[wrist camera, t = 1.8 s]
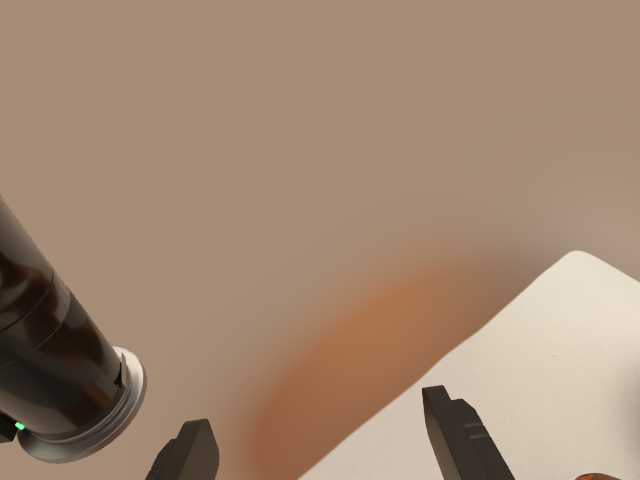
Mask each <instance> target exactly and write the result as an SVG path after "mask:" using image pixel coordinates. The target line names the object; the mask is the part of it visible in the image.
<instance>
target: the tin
mask: <svg viewBox="0 0 640 480" xmlns="http://www.w3.org/2000/svg"><path fill="white" fill-rule="evenodd" d="M575 480H620V479H618V478H615V477H612V476H609V475H605V474H601V473H590V474H584V475H581V476H579V477H577V478H576V479H575Z"/></svg>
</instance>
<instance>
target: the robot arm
mask: <svg viewBox="0 0 640 480" xmlns="http://www.w3.org/2000/svg"><path fill="white" fill-rule="evenodd" d="M130 386H131V373H130V370H129V368H128V366H127V365H126V357H125V356H124V354H123V353H122V352H121V358H120V357H119V356H118V354H117V353H116V352H115V350H114V349H113V347H112V346H111V345H110V343H109V342H108V340H107V339H106V338H105V336H104V335H103V334H102V332H101V331H100V330H99V329H98V327H97V326H96V324H95V323H94V322H93V321H92V319H91V318H90V316H89V315H88V314H87V312H86V311H85V309H84V308H83V307H82V305H81V304H80V303H79V301H78V300H77V299H76V297H75V296H74V295H73V294H72V292H71V291H70V289H69V288H68V287H67V285H66V284H65V283H64V281H63V280H62V279H61V277H60V276H59V275H58V273H57V272H56V271H55V269H54V268H53V267H52V265H51V264H50V263H49V261H48V260H47V259H46V257H45V256H44V255H43V253H42V252H41V251H40V249H39V248H38V247H37V245H36V244H35V242H34V241H33V240H32V238H31V237H30V235H29V234H28V233H27V231H26V230H25V229H24V227H23V226H22V224H21V223H20V221H19V220H18V219H17V217H16V216H15V214H14V213H13V212H12V210H11V209H10V208H9V206H8V205H7V203H6V202H5V201H4V199H3V198H2V196H1V195H0V443H5V442H12V441H13V440H14V437H15V435H16V433H17V431H18V430H20V431H21V432H23V433H32V434H33V435H34V436H35V437H37V438H38V439H40V440H42V441H43V442H46V443H49V444H55V445H62V444H69V443H73V442H77V441H79V440H82V439H84V438H86V437H88V436H90V435H92V434H94V433H95V432H97V431H98V430H100V429H101V428H102V427H104V426H105V425H106V424H107V423H108V422H109V421H110V420H111V419H112V418H113V417H114V416H115V415H116V414H117V413H118V411H119V410H120V409H121V407H122V406H123V404H124V402H125V400H126V398H127V396H128V394H129V390H130ZM422 396H423V405H424V414H425V423H426V428H427V432H428V436H429V439H430V442H431V445H432V448H433V450H434V453H435V456H436V458H437V461H438V464H439V467H440V469H441V472H442V475H443V478H444V480H515V478H514V477H513V475H512V473H511V471H510V470H509V468H508V466H507V464H506V463H505V461H504V459H503V457H502V456H501V454H500V452H499V450H498V449H497V447H496V445H495V444H494V442H493V440H492V438H491V437H490V436H489V433H488V431H487V430H486V428H485V426H483V423H482V421H481V419H480V417H479V416H478V414H477V412H476V410H475V409H474V408H473V407H471V406H470V405H469V404H468V403H467V402H466V401H464V400H463V399H457V400H451V399H450V397H449V395H448V393H447V391H446V389H445V387H444V386H443V385H440V386H433V387H426V388H422ZM218 466H219V450H218V447H217V444H216V441H215V438H214V435H213V432H212V429H211V426H210V423H209V421H208V420H207V419H200V420H193V421H187V422H185V423H184V424H183V426H182V428H181V430H180V432H179V435H178V436H177V438H176V439H171V440H170V441H169V442H168V443H167V444H166V446H165V447H164V448H163V449H162V450H161V451H160V452H159V454H158V456H157V458H156V460H155V462H154V463H153V466H152V468H151V471H149V474H148V475H147V477H146V479H145V480H215V477H216V474H217V470H218Z"/></svg>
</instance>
